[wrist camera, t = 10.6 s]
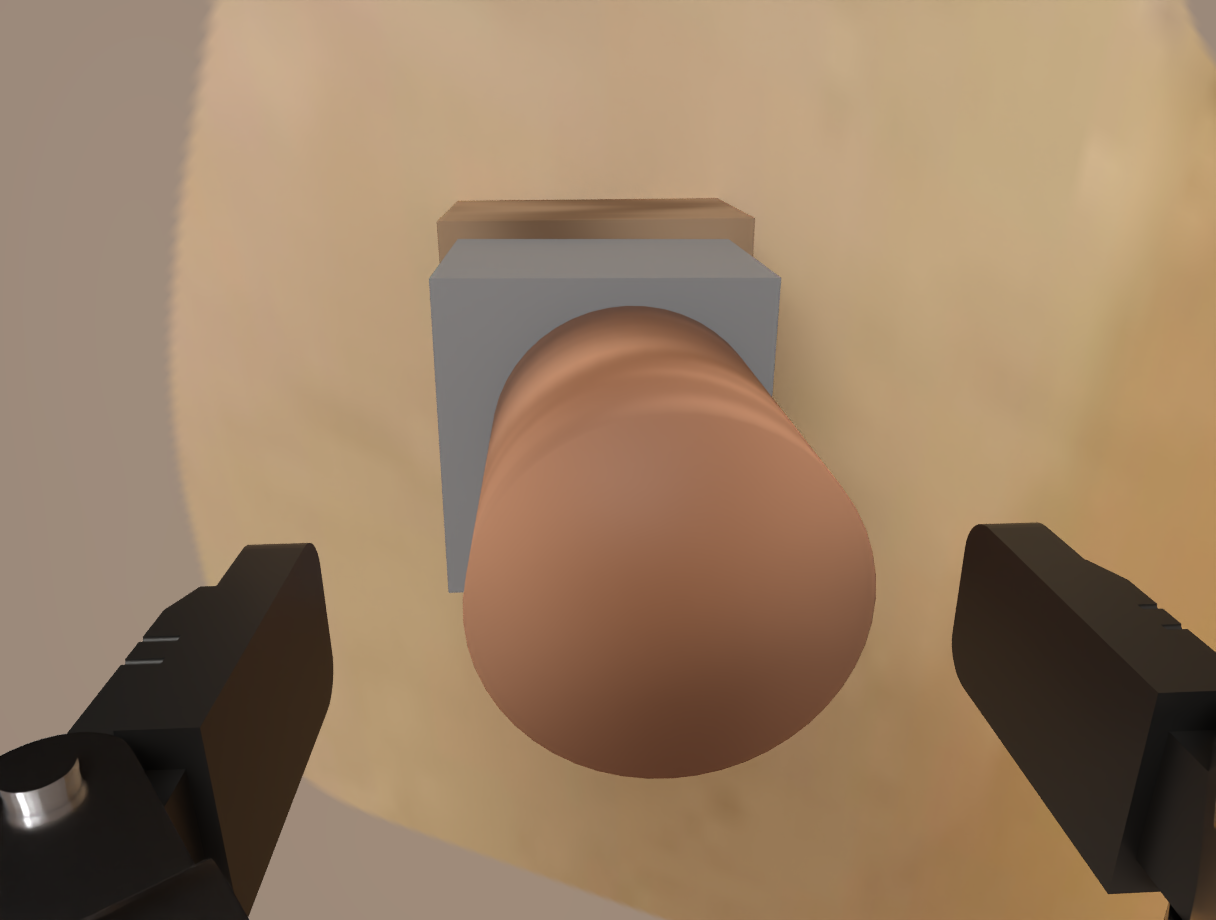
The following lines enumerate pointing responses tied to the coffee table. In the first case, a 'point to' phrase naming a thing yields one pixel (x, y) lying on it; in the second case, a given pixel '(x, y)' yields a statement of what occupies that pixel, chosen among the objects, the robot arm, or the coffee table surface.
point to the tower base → (595, 220)
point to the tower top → (550, 296)
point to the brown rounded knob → (658, 553)
